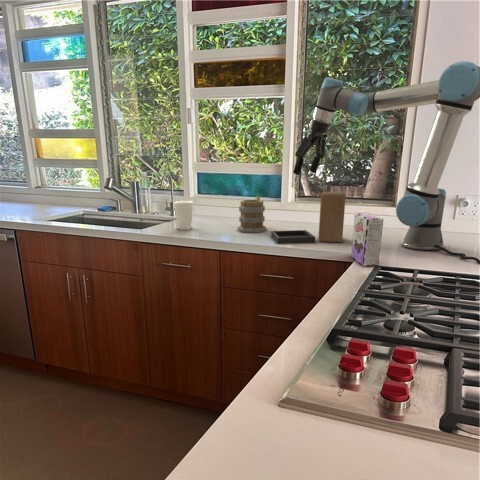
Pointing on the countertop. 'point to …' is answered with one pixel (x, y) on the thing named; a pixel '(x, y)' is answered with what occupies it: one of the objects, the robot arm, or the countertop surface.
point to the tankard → (252, 216)
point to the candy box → (367, 238)
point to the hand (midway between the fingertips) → (304, 173)
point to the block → (331, 216)
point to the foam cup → (184, 214)
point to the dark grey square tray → (292, 236)
